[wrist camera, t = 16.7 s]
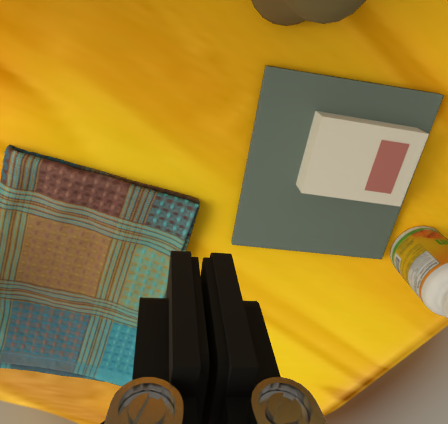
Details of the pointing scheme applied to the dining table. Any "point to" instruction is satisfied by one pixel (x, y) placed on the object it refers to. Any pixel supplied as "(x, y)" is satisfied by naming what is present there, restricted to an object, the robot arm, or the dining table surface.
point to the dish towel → (81, 264)
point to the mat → (292, 158)
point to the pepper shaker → (305, 10)
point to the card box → (359, 159)
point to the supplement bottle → (424, 265)
